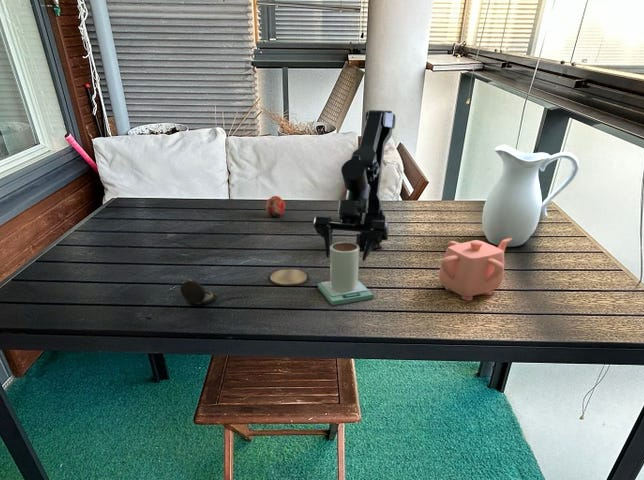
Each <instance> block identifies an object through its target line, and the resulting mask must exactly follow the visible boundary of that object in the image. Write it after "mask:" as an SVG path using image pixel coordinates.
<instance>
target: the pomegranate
mask: <svg viewBox="0 0 644 480" xmlns="http://www.w3.org/2000/svg"><path fill="white" fill-rule="evenodd" d="M265 210H266V212H267V214H268V215H269V216H271V217H275V218H280V217H281V216H283V215H284V212H285V210H286V202H285V201H284V200H283V199H282V198H281V197H280V196H279V195H273V196H270V198H268V199H267V200H266V203H265Z"/></svg>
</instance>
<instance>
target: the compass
mask: <svg viewBox="0 0 644 480" xmlns="http://www.w3.org/2000/svg"><path fill="white" fill-rule="evenodd" d="M180 293H181V295H182V297H183V298H184V299H185V300H186V301H188V302H190V303H191V304H193V305H197V306H198V305H199V306H201V305H202V306H203V305H207V304H210V303H212V302H213V301H214V300H215V294H214V293H213V292H211V291H209V290H205V287H204V286H203V285H202V284H201V283H200V282H198V281H196V280H194V279H193V278H191V279H187V280H185V281H183V282H182V284H181V285H180Z"/></svg>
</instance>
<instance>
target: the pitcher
mask: <svg viewBox="0 0 644 480" xmlns="http://www.w3.org/2000/svg"><path fill="white" fill-rule="evenodd" d="M494 152H495V153H496V154H497V155H498V156H499V157H500V159H501V161H502V168H501V170H500V171H501V172H500V174H499V175H498V177H497V178H496V181H495V182H494V184H493V186H492V187H491V189H490V191H489V192H488V194H487V197H486V200H485V203H484V205H483V209H482V214H481V215H482V216H481V217H482V218H481V223H482V225H481V226H482V229H483V234H484V235H485V238H486V239H487V241H488V242H489V243H490V244H493V245H494V246H495V245H496V246H499V244H500V243H501V242H502V241H503V240H504V239H506V238H512V240H511V241H510V242H509V243H508V244H507V246H506V247H508V248H509V247H512V248H513V247H519V246H522V245H523V244H524V243H527V241H528V240H529V239H530V237H531V236H532V235H533V234H534V232H535V230H536V229H537V227H538V225H539V221H540V219H541V216H542V217H544V218H548V213H547V207H548V205H549V204H550V202H552V200H554V198H556V197H557V196H558V195H559V194H560V193H561V192H563V190H565V189H566V188H567V187H568V186H569V185H570V184H571V183H572V182H573V181H574V180H575V177H577V174H578V172H579V169H580V168H579V167H580V164H579V159H578V158H577V157H576V155H574V154H573V153H572V152H569V151H561V152H557V153H554V154H552V155H550V154H549V153H547V152H541V151H540V152H534V153H526V152H522V151H519V150H517V149H515V148H513V147H511V146H509V145H507V144H500V145H498V146H496V147H495V149H494ZM560 159H567V160H569V161H570V162H571V166H572V167H571V171H570V173H569V175H568V177H567V178H566V179H565V180H564V181H563V182H562V183H561V184H560V185H559V186H558V187H557V188H556V189H555V190H554V191H553V192H551V193H550V195H548V196H547V197H546V198H545V199H544V200H542V199H543V198H542V191H541V186H540V180H539V170H540V171H541V172H545V169H546V168H547V166H548V165H549V164H551V163H552V162H554V161H556V160H560Z"/></svg>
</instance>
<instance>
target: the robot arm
mask: <svg viewBox="0 0 644 480" xmlns="http://www.w3.org/2000/svg"><path fill="white" fill-rule="evenodd" d="M396 119H397V118H396V114H395V113H393V111H392V110H381V109H369V110H367V111H366V112H364V115H363V127H364V128H363V132H362V136H361V140H360V143H359V147H358V148H357V149H355V150H354V151H353V152H352V154H351V157H350V159H348V160H347V161H345V162H344V163H343V164H342V166H341V169H340V171H341V177H342V179H343V183H344V187H345V189H346V195H345V199H339V202H338V212H337V214H338V218H339V220H341V221H333V219H332V216H331V215H321V214H317V215H316V216H315V217H314V218H313V224H312V225H313V227H314V229H315V232H316V234H317V235H319V236H320V237H321V238H322V239H324V246H325V247H324V248H325V254H326V255H325V256H326V258H327V259H328V258H329V259H330V246H331V245H332V244H333V231H345V232H346V231H347V232H356V241H355V244H357V245H358V246H359V249H361V251H363V253H362V262H366V260H367V258H368V257H369V255H370V254H371V252H372V251H373V250H379V249H383V246H382V245H381V243H383V241H388V240H389V235H390V234H389V233H390V229H389V222H388V221H387V219H386V215H385V211H384V209H383V203H382V201H381V198H380V189H381V181H382V172H383V164H384V157H385V156H384V155H385V149H386V148H385V147H386V144H387V143H388V142H389V140H391V138H392V134H393V130H394V129H395V127H396Z"/></svg>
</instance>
